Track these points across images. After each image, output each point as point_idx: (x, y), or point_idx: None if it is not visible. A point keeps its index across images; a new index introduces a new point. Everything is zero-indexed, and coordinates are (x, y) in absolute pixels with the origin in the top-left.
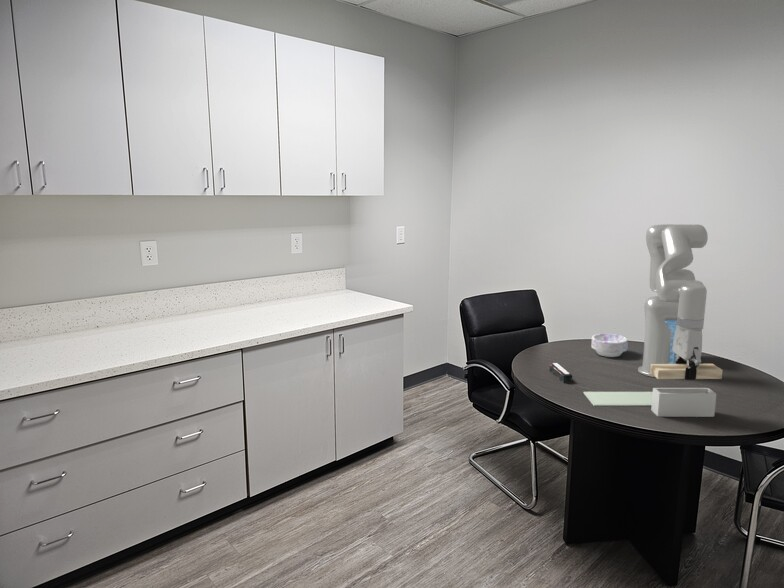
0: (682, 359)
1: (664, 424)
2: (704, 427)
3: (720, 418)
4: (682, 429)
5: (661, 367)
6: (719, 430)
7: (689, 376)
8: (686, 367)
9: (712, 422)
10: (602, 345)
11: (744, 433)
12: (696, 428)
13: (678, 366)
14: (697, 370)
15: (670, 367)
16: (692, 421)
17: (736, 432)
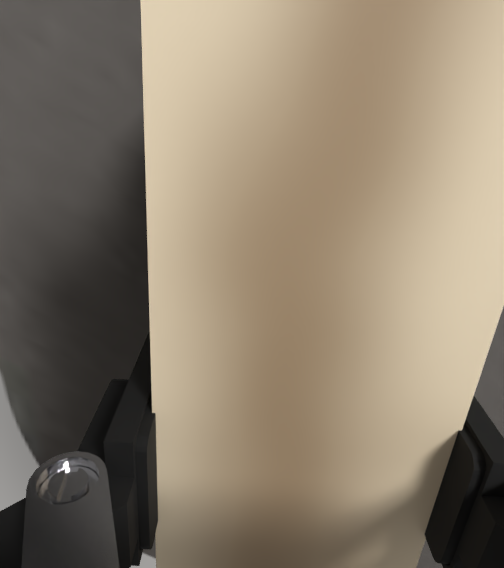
0: (481, 562)
1: (81, 13)
2: (61, 252)
3: None
4: (12, 103)
5: (336, 36)
6: (31, 307)
7: (110, 384)
8: (274, 473)
9: (134, 326)
10: None
11: (12, 395)
12: (41, 200)
13: (337, 393)
14: (157, 537)
15: (308, 239)
16: (142, 230)
17: (18, 369)
